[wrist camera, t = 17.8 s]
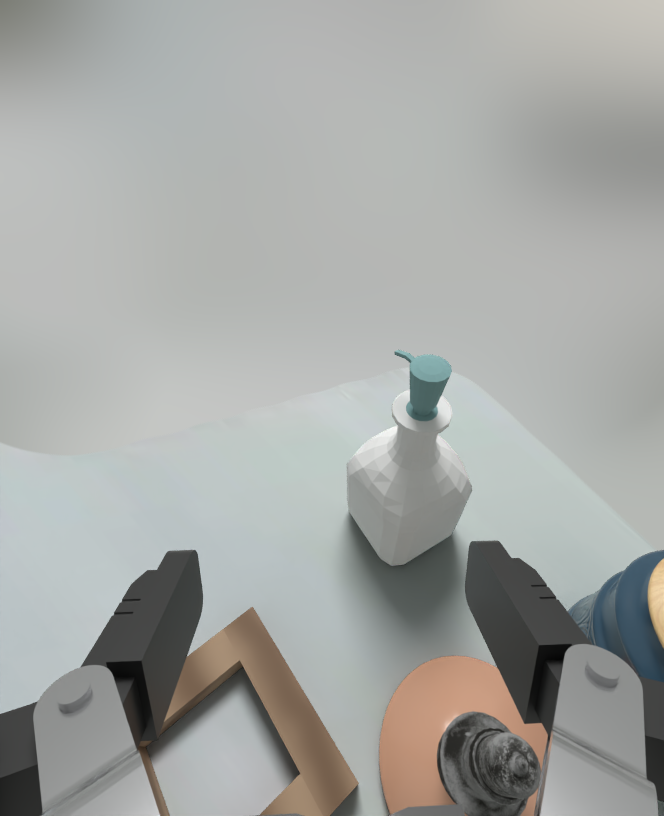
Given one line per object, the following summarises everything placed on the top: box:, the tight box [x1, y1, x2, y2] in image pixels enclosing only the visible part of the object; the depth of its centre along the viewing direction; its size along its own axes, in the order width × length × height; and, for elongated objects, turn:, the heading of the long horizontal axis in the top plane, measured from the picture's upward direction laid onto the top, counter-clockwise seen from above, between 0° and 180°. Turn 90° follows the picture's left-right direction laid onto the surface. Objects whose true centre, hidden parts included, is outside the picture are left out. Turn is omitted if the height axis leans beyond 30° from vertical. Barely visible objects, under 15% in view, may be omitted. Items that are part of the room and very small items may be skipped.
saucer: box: [379, 656, 548, 816], centre depth 30 cm, size 14×14×1 cm
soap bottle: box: [347, 350, 472, 566], centre depth 36 cm, size 10×10×23 cm
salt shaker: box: [437, 711, 541, 816], centre depth 25 cm, size 6×6×12 cm
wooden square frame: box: [138, 607, 359, 816], centre depth 30 cm, size 15×15×2 cm
